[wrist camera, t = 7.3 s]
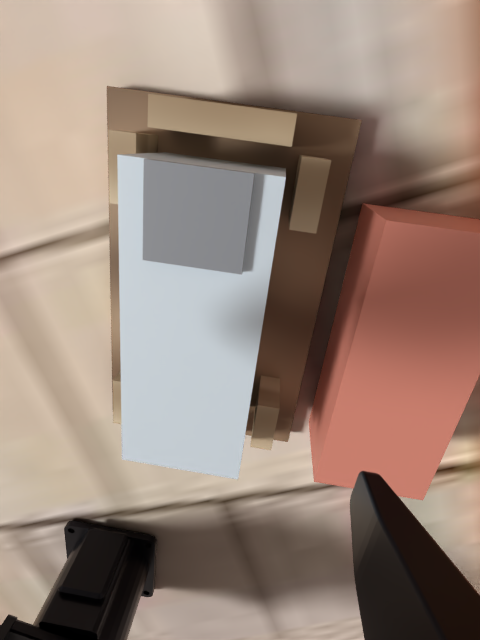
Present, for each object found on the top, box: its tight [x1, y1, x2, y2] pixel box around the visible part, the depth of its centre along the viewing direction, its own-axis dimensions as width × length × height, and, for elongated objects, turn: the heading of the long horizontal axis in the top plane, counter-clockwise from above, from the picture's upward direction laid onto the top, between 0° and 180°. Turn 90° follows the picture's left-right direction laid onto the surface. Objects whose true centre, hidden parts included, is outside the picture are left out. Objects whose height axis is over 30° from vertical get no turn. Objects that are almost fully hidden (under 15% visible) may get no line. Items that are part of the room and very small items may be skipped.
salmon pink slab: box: [309, 203, 480, 500], centre depth 17 cm, size 12×5×4 cm, turn 173°
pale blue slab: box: [117, 152, 286, 479], centre depth 16 cm, size 12×5×5 cm, turn 173°
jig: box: [107, 86, 362, 450], centre depth 17 cm, size 16×10×3 cm, turn 173°
